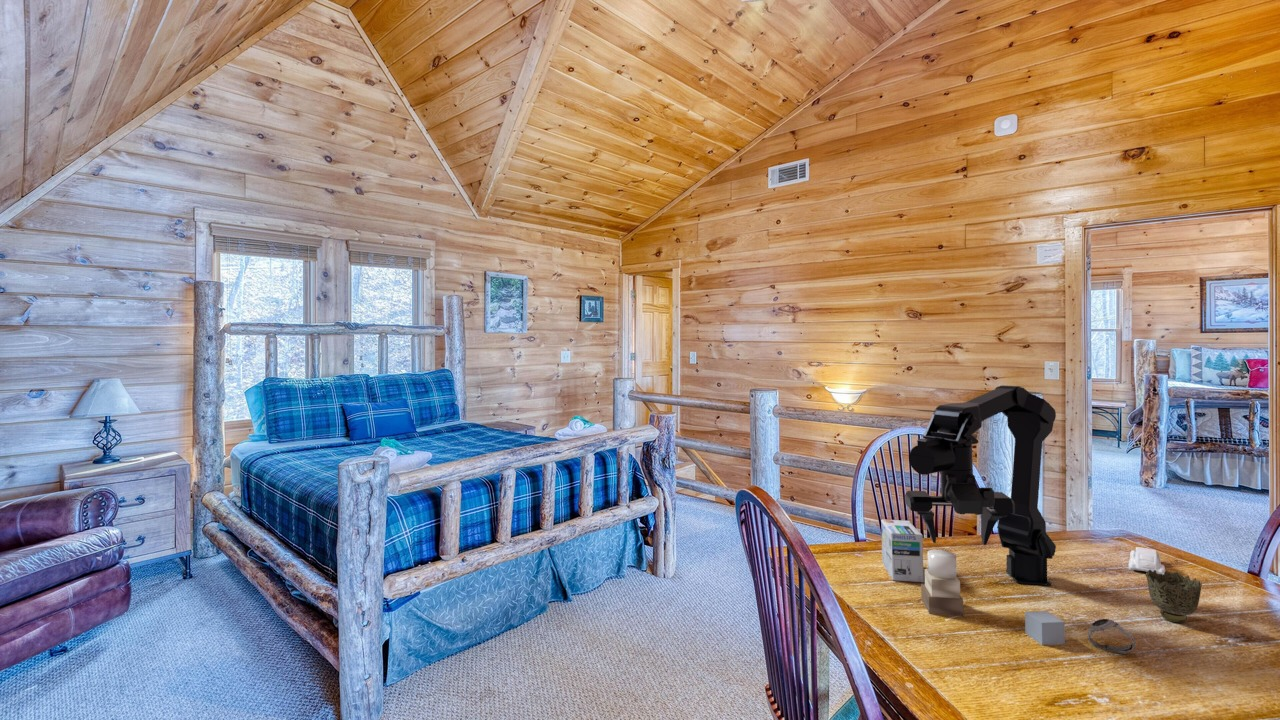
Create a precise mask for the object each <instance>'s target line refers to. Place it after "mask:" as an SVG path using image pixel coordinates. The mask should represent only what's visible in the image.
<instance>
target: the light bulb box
mask: <svg viewBox="0 0 1280 720" xmlns="http://www.w3.org/2000/svg"><path fill="white" fill-rule="evenodd" d="M880 522H881V523H880V524H881V527H880V529H881V562H882V564H883V566H884V568H885V570H886V572H887V573H888V575H889V577H890V578H891V580H892V581H897V582H898V581H901V582H916V583H925V574H924V547H923V546H924V544H923V543H924V541H923V539H924V538H923V537H924V535H923V534H922V533H921V532H920V531H919V530H918V529H917V528H916V527H915V526H914V524H913V523H912V522H911V521H910V520H899V519H898V520H897V519H881V520H880Z"/></svg>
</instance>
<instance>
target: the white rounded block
mask: <svg viewBox="0 0 1280 720" xmlns="http://www.w3.org/2000/svg"><path fill="white" fill-rule="evenodd" d="M1129 558H1130V559H1129V560H1128V565H1127V567H1128V571H1132V572H1134V571H1139V572H1140V571H1142V572H1147V573H1148V571H1149V570H1151V571H1154V570H1156V573H1157V574H1158V575H1159V574H1162V575H1163V574H1164V572H1165V571H1166V568H1165V565H1164V564H1162V563H1161V562H1162V561H1161V556H1160V554H1159V553H1158V552H1157V550H1156V549H1152V548H1146V547H1141V546H1135V550H1134V549H1132V550H1131V551H1130V553H1129Z"/></svg>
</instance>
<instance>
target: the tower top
mask: <svg viewBox="0 0 1280 720" xmlns="http://www.w3.org/2000/svg"><path fill="white" fill-rule="evenodd" d="M924 584H925V587H926V588H927V590H928V591H929V593H930V595H931V596H932V597H942V598H955V599H960V596H961V581H960V578H958V576H956V578H954V579H941V578H936V577H934V576H931V575H930V574H929V573H928V568H924Z"/></svg>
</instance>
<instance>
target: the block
mask: <svg viewBox="0 0 1280 720" xmlns="http://www.w3.org/2000/svg"><path fill="white" fill-rule="evenodd" d="M1024 618H1025V620H1024V621H1025V622H1024V623H1025V627H1024V629H1025V630H1024V631H1025V634H1026V635H1027V636H1029V637H1030V638H1032V639H1033V640H1034V641H1036V642H1037V643H1038V644H1039V645H1041V646H1053V645H1054V646H1055V645H1057V646H1058V645H1066V643H1065V642H1066V639H1065V637H1066V632H1065V630H1066V629H1065V625H1066V622H1065V621H1064V620H1062V619H1060V618H1059V617H1058V616H1056V615H1055V614H1053V613H1051V612H1050V611H1048V610H1043V611H1042V610H1039V611H1036V610H1034V611H1025V612H1024Z"/></svg>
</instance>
